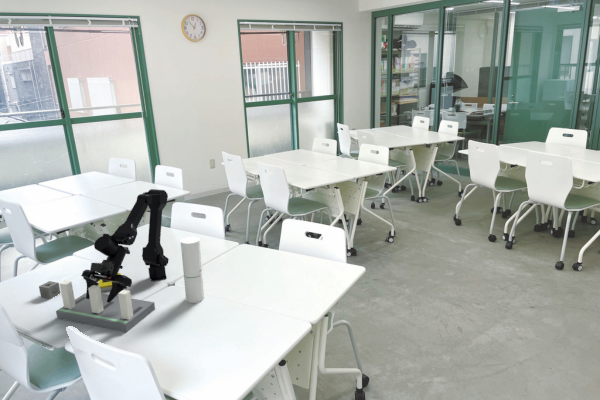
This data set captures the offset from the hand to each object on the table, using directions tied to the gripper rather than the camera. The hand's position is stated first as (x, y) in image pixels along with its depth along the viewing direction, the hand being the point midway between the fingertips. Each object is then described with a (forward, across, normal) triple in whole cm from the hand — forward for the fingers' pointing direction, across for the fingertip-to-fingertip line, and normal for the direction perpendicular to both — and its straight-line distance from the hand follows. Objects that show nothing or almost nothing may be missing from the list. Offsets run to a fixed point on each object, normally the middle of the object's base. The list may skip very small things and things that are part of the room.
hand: (97, 300), depth 158 cm
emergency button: (-10, -15, +22) cm, 28 cm away
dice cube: (-1, -32, +12) cm, 34 cm away
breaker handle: (+3, 0, +2) cm, 4 cm away
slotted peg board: (+3, 0, +8) cm, 8 cm away
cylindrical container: (-11, +26, +22) cm, 36 cm away
